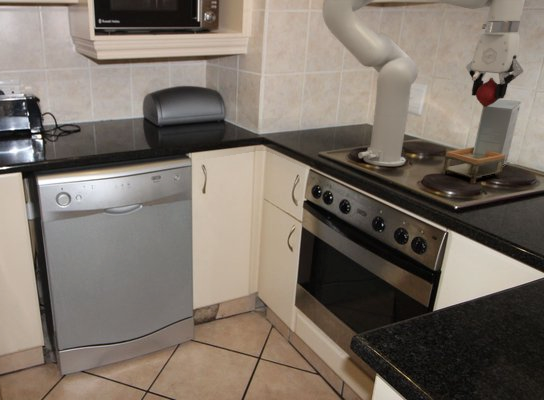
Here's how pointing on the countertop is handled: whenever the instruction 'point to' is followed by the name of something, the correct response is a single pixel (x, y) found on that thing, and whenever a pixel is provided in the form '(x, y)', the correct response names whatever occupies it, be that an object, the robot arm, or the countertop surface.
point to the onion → (487, 93)
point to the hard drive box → (497, 129)
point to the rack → (473, 163)
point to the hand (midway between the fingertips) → (487, 96)
